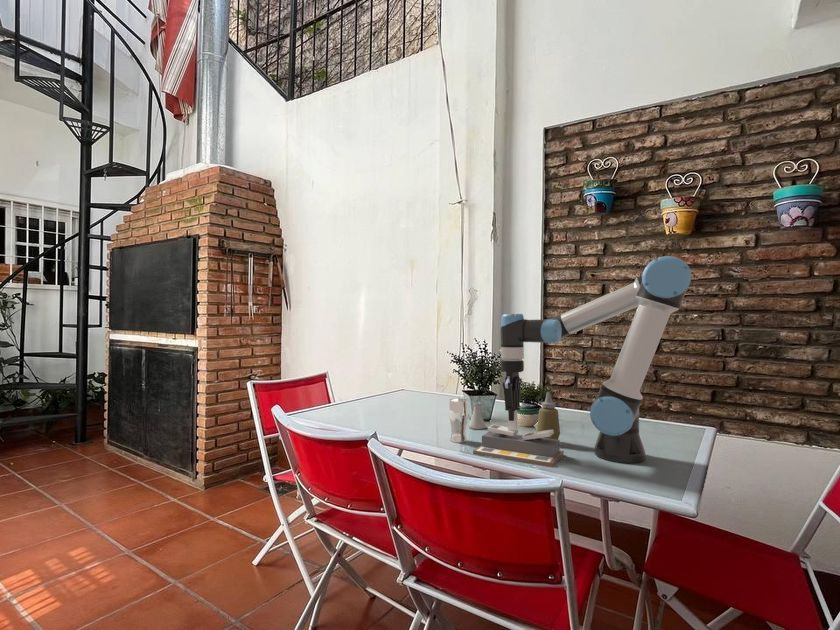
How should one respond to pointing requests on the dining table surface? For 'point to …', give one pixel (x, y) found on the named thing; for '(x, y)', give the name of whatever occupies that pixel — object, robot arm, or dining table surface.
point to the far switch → (502, 430)
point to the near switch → (538, 434)
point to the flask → (477, 418)
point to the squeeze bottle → (549, 418)
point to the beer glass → (458, 419)
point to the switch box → (520, 448)
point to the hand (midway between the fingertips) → (512, 429)
